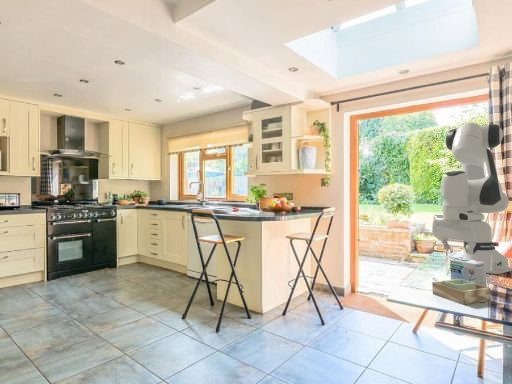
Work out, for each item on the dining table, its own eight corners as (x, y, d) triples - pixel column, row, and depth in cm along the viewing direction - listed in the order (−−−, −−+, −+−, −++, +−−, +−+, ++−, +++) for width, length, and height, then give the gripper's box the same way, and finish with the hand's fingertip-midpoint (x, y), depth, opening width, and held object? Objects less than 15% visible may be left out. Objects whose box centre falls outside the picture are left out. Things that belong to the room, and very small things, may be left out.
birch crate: (458, 290, 123) (457, 278, 124) (490, 300, 111) (490, 287, 111) (432, 293, 120) (432, 282, 120) (463, 304, 108) (462, 291, 108)
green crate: (461, 292, 119) (461, 278, 120) (476, 296, 114) (475, 282, 114) (444, 294, 117) (444, 281, 118) (458, 299, 112) (458, 285, 112)
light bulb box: (450, 285, 131) (449, 259, 131) (460, 282, 134) (459, 257, 134) (476, 291, 121) (475, 263, 122) (487, 289, 124) (486, 261, 124)
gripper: (427, 213, 126) (428, 248, 125) (474, 216, 106) (476, 257, 106) (439, 212, 127) (441, 246, 127) (489, 215, 107) (491, 255, 107)
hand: (457, 251), depth 116 cm, fingers open, 8 cm apart
